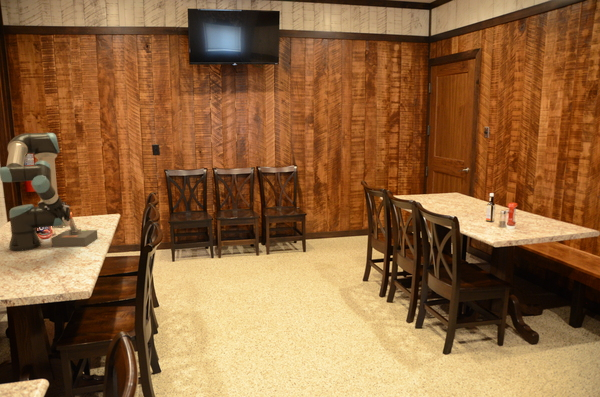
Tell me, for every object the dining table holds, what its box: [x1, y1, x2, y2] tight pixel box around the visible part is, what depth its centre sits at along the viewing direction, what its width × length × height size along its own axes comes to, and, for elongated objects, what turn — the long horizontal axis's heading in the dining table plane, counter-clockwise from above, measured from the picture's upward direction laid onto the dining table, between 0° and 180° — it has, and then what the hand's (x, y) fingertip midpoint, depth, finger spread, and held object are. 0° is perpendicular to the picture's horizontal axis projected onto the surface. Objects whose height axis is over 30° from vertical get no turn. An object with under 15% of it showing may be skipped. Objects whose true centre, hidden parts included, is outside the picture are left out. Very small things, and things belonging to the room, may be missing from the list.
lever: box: [69, 211, 79, 233], centre depth 267 cm, size 4×3×14 cm
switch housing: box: [51, 228, 99, 248], centre depth 271 cm, size 18×18×8 cm
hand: (68, 223), depth 262 cm, fingers closed
